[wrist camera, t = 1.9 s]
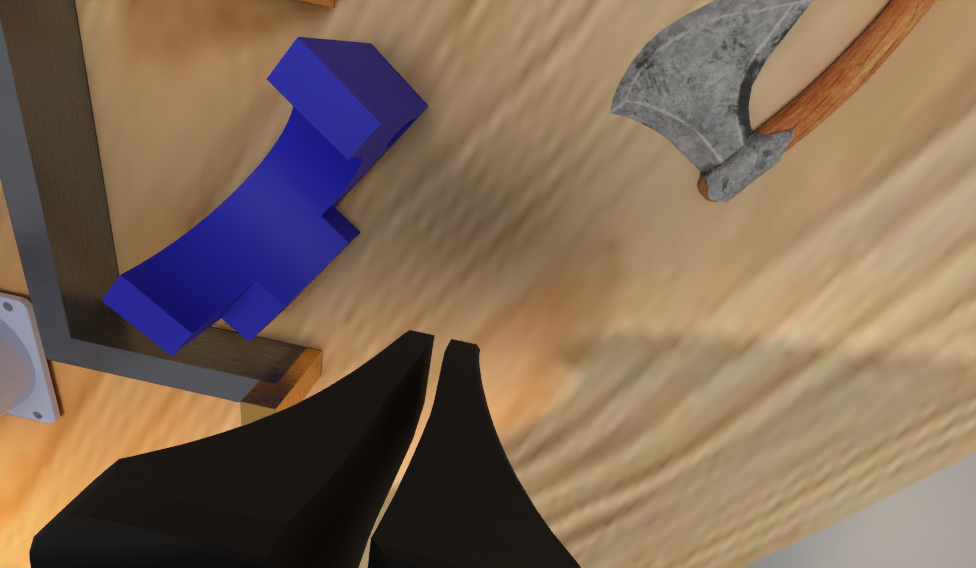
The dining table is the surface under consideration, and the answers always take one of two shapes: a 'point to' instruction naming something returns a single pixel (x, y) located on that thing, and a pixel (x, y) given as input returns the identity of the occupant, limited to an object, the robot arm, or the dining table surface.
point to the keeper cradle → (102, 231)
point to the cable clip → (277, 202)
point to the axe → (743, 84)
